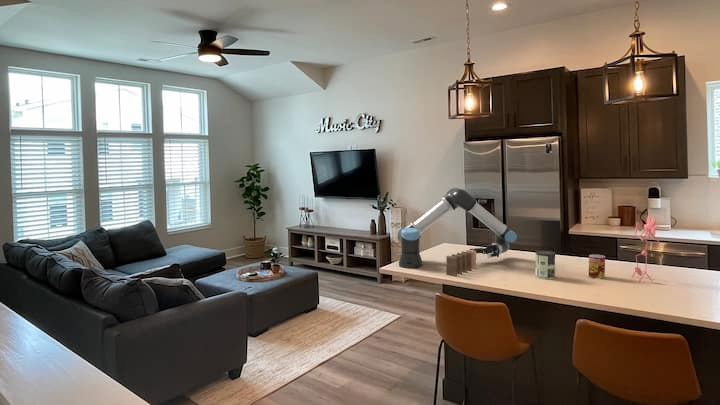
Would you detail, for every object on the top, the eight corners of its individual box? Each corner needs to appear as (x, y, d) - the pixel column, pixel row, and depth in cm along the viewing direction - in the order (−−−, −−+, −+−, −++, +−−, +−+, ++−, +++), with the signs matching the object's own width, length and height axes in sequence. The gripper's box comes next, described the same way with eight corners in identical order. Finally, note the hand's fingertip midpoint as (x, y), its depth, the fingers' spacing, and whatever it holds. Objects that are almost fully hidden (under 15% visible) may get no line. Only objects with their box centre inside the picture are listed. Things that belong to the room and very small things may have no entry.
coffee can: (552, 274, 244) (552, 250, 243) (556, 279, 234) (557, 254, 233) (533, 274, 246) (533, 250, 245) (537, 279, 236) (537, 253, 235)
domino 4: (470, 271, 256) (470, 253, 255) (461, 269, 260) (461, 251, 259) (471, 270, 257) (471, 252, 256) (462, 269, 261) (462, 251, 261)
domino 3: (465, 272, 252) (465, 254, 251) (456, 271, 256) (456, 253, 256) (466, 272, 253) (466, 254, 252) (458, 270, 258) (458, 252, 257)
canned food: (585, 276, 240) (585, 255, 239) (595, 274, 243) (596, 253, 242) (597, 279, 233) (598, 257, 232) (607, 278, 236) (608, 256, 235)
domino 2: (460, 274, 248) (460, 256, 247) (451, 272, 253) (451, 254, 252) (461, 274, 249) (462, 255, 249) (453, 272, 254) (453, 254, 253)
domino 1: (455, 276, 244) (455, 257, 243) (446, 274, 249) (446, 256, 248) (456, 275, 246) (456, 257, 245) (448, 274, 250) (447, 255, 249)
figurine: (644, 285, 219) (648, 218, 216) (623, 273, 244) (627, 212, 241) (677, 287, 216) (682, 219, 213) (653, 275, 241) (657, 213, 238)
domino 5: (474, 269, 260) (474, 251, 259) (466, 267, 264) (466, 250, 263) (476, 268, 261) (476, 251, 260) (467, 267, 265) (467, 249, 265)
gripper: (512, 257, 273) (496, 263, 258) (476, 252, 291) (460, 257, 276) (512, 246, 273) (496, 251, 258) (477, 241, 290) (460, 246, 275)
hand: (477, 254), depth 267 cm, fingers open, 13 cm apart
